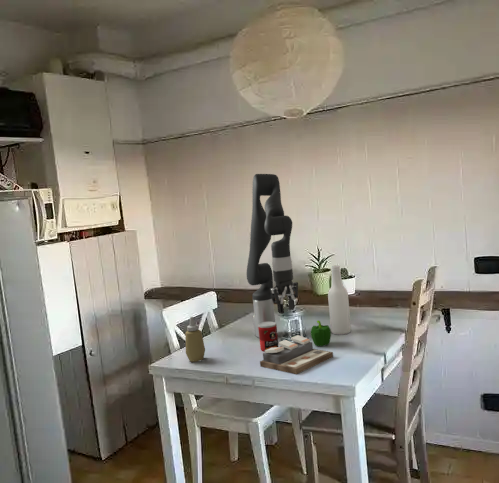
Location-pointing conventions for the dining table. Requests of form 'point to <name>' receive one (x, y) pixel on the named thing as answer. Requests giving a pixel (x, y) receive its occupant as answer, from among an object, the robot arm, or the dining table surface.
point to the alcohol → (338, 304)
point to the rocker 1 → (274, 350)
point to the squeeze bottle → (194, 342)
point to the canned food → (268, 335)
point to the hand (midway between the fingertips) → (286, 311)
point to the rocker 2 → (288, 344)
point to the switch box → (295, 358)
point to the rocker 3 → (300, 339)
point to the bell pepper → (321, 334)
